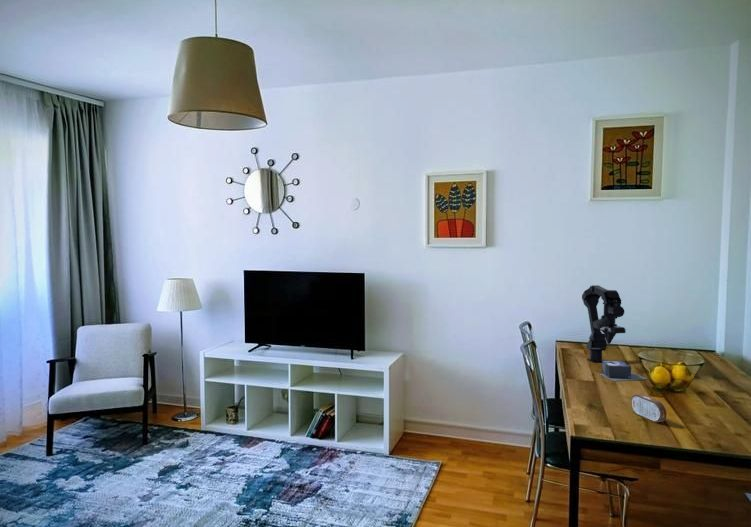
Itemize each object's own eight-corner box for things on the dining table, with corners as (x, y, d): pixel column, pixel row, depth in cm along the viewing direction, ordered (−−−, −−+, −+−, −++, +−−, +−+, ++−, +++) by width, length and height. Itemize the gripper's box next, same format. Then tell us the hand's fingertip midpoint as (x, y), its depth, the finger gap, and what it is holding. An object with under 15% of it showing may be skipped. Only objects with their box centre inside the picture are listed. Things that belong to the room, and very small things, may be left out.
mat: (598, 374, 255) (599, 373, 255) (630, 372, 258) (630, 372, 258) (614, 381, 243) (614, 380, 243) (647, 379, 246) (647, 378, 246)
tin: (666, 425, 188) (667, 402, 187) (660, 426, 187) (660, 403, 186) (635, 411, 202) (636, 390, 202) (628, 412, 201) (629, 391, 201)
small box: (623, 360, 256) (631, 366, 246) (623, 372, 257) (631, 379, 246) (601, 359, 257) (609, 365, 247) (601, 372, 258) (608, 378, 247)
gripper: (585, 311, 273) (584, 340, 274) (606, 317, 254) (606, 348, 255) (603, 311, 275) (602, 339, 276) (626, 316, 257) (625, 347, 257)
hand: (608, 343), depth 266 cm, fingers closed
